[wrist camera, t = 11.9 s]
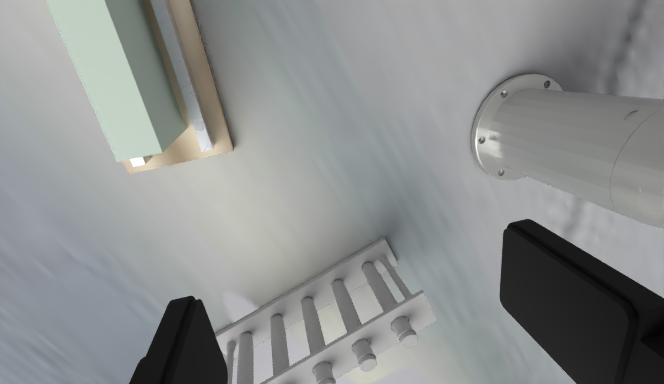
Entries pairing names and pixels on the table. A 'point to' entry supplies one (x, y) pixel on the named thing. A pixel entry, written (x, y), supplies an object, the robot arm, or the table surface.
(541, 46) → the table surface
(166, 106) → the door panel
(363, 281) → the test tube rack
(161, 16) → the bottom track
